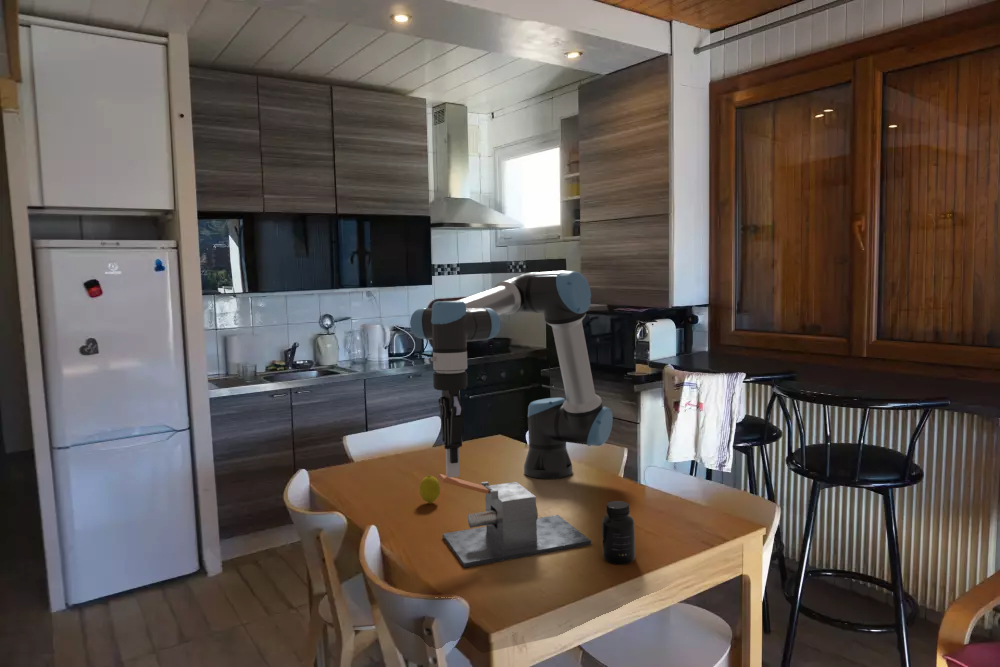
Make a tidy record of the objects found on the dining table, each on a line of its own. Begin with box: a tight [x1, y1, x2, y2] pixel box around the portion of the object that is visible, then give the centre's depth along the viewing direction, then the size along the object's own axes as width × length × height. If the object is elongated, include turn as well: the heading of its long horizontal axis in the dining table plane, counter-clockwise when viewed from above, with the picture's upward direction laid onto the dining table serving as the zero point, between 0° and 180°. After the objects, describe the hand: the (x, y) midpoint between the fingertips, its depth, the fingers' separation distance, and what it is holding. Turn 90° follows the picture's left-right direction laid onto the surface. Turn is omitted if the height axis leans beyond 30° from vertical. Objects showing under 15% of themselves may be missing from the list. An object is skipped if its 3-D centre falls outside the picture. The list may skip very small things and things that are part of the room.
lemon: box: [419, 474, 441, 505], centre depth 180 cm, size 6×6×8 cm
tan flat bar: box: [438, 473, 492, 494], centre depth 148 cm, size 13×4×1 cm, turn 110°
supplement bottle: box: [601, 500, 636, 566], centre depth 141 cm, size 7×7×12 cm
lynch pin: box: [467, 506, 539, 529], centre depth 151 cm, size 16×5×5 cm, turn 110°
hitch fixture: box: [442, 481, 592, 569], centre depth 152 cm, size 30×18×14 cm, turn 110°
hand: (452, 476), depth 146 cm, fingers closed
